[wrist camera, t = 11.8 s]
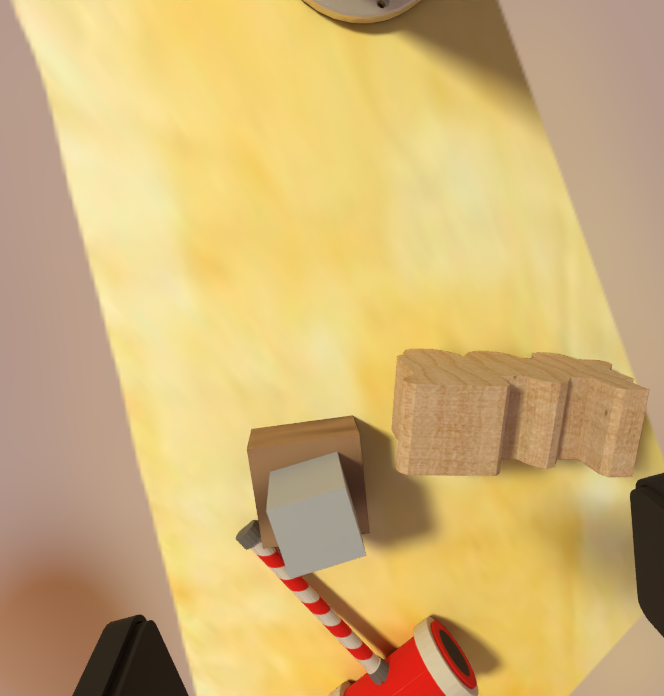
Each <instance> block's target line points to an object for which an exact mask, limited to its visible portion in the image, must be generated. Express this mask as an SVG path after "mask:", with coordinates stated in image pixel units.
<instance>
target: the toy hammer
mask: <svg viewBox="0 0 664 696" xmlns="http://www.w3.org/2000/svg"><path fill="white" fill-rule="evenodd" d="M236 540H237V541H238V542H239V543H240V544H241V545H242V546H243V547H244V548H245V549H246V550H247V549H249V548H251V549H252V550H253V551H254V552H255V553H256V554H257V555H258V556H259V558H260V559H261V560H262V561H263V562H264V563H265V564H266V565H267V566H268V567H269V568H270V569H271V570H272V571H273V572H274V573H275V574H276V575H277V576H278V577H279V578H280V580H281V581H282V582H283V583H284V584H285V585H286V586H287V587H288V588H289V589H290V590H291V591H292V592H293V593H294V594H295V595H296V596H297V597H298V598H299V599H300V600H301V602H302V603H303V604H304V605H305V606H306V607H307V608H308V609H309V610H310V611H311V612H312V613H313V614H314V615H315V616H316V617H317V618H318V619H319V620H320V621H321V622H322V624H323V625H324V626H325V627H326V628H327V629H328V630H329V631H330V632H331V633H332V634H333V635H334V636H335V637H336V638H337V639H338V640H339V641H340V642H341V643H342V644H343V646H344V647H345V648H346V649H347V650H348V651H349V652H350V653H351V654H352V655H353V656H354V657H355V658H356V659H357V660H358V661H359V662H360V663H361V664H362V666H363V667H364V668H365V669H366V670H367V673H366V674H365V675H364V676H363V677H361V678H360V679H359V680H357V681H356V682H355V683H354V684H351V683H350V682H344V683H343V684H341V685H340V686H339V687H337V688H336V689H335V690H334V691H332V692H331V693H330V694H329V696H478V686H477V682H476V678H475V675H474V672H473V670H472V668H471V665H470V663H469V661H468V660H467V658H466V656H465V654H464V653H463V651H462V649H461V648H460V646H459V645H458V643H457V642H456V640H455V639H454V638H453V636H452V635H451V634H450V633H449V631H448V630H447V629H446V628H445V627H444V626H443V625H442V624H441V623H440V622H438V621H436V620H434V619H433V618H432V617H427V618H425V619H424V620H423V621H422V622H420V623H419V624H418V625H417V626H415V627H414V629H413V634H414V637H412V638H411V639H410V640H409V641H407V642H406V643H405V644H403V645H402V646H401V647H400V648H398V649H397V650H396V651H395V652H393V653H392V654H391V655H389V656H388V657H387V658H386V659H382V658H381V657H379V656H376V655H375V654H374V653H373V652H372V651H371V650H370V648H369V647H368V646H367V645H366V644H365V643H364V642H363V641H362V640H361V639H360V638H359V637H358V636H357V635H356V634H355V633H354V632H353V631H352V629H351V628H350V627H349V626H348V625H347V624H346V623H345V622H344V621H343V620H342V619H341V618H340V617H339V616H338V615H337V614H336V613H335V612H334V610H333V609H332V608H331V607H330V606H329V605H328V604H327V603H326V602H325V601H324V600H323V599H322V598H321V597H320V596H319V595H318V594H317V592H316V591H315V590H314V589H313V588H312V587H311V586H310V585H309V584H308V583H307V582H306V581H305V580H304V579H303V578H302V577H301V576H299V577H296V578H292V579H290V577H289V574H288V571H287V569H286V566H285V563H284V560H283V557H282V556H281V554H280V553H279V552H278V551H277V550H276V549H275V548H274V547H272V548H266V549H263V546H262V540H261V533H260V527H259V525H258V524H257V523H256V522H255V521H254V520H253V521H251V522H250V523H249V524H248V525H247V526H245V527H244V528H243V529H242V530H241V531H240V532H239V533H238V534H237V536H236Z"/></svg>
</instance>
